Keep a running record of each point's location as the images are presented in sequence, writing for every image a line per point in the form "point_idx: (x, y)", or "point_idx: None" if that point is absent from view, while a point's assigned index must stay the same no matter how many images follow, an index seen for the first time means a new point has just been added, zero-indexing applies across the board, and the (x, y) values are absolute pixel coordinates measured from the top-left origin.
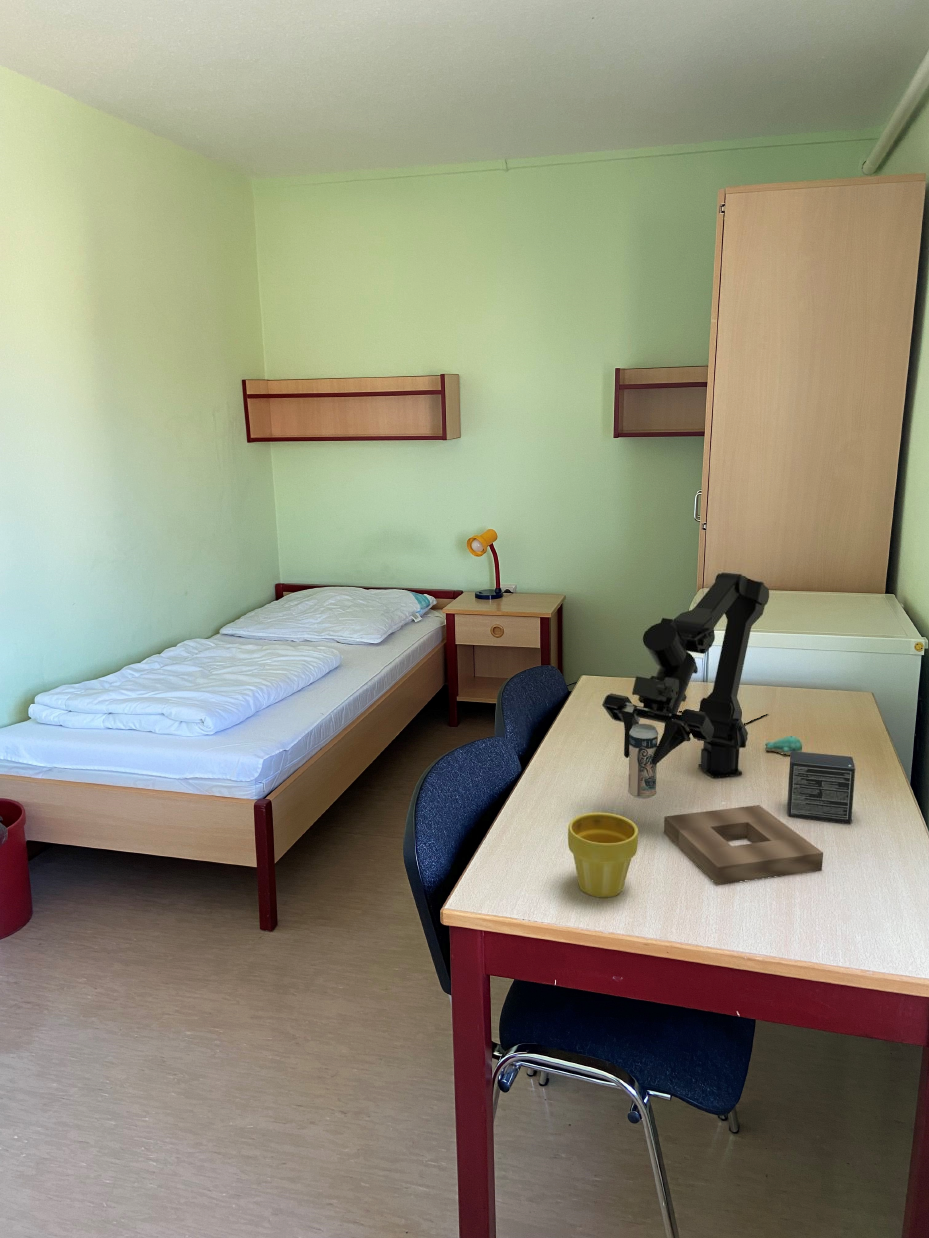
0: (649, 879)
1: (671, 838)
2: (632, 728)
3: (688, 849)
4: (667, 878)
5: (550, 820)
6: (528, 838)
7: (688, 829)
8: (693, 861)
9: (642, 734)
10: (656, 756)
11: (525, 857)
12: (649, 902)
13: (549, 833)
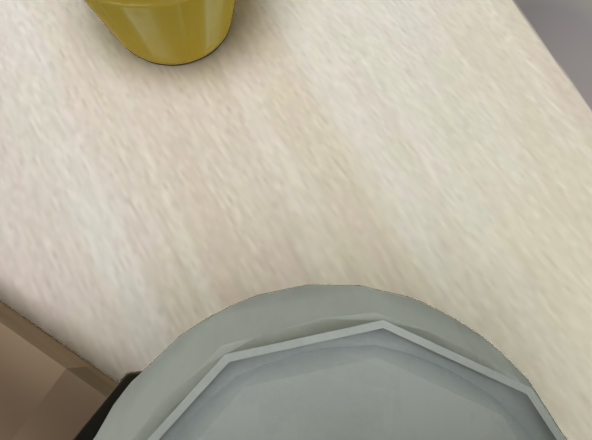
0: (79, 120)
1: None
2: (519, 382)
3: (20, 322)
4: (35, 157)
5: (534, 238)
6: (488, 103)
7: (35, 405)
8: (2, 303)
9: (234, 330)
10: (98, 414)
11: (415, 19)
12: (25, 24)
13: (471, 165)
